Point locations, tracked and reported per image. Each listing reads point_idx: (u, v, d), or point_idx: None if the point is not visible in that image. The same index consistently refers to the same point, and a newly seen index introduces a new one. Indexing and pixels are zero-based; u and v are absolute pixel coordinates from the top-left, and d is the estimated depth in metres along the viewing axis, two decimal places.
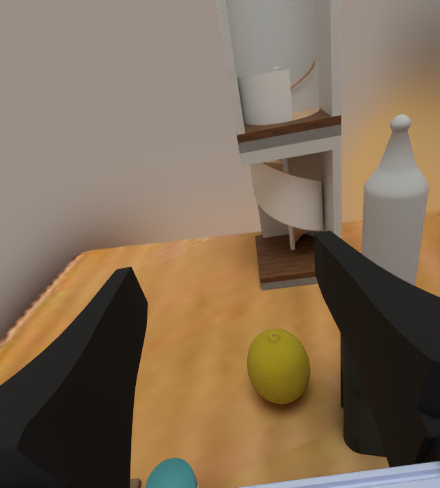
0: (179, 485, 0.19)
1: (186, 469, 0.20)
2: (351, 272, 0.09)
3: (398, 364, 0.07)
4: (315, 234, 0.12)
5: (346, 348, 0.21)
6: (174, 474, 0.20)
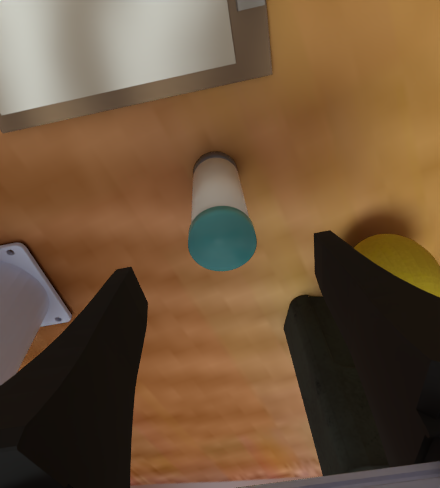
0: (223, 255, 0.15)
1: (242, 258, 0.15)
2: (351, 272, 0.09)
3: (398, 364, 0.07)
4: (315, 234, 0.12)
5: (351, 440, 0.18)
6: (235, 246, 0.14)
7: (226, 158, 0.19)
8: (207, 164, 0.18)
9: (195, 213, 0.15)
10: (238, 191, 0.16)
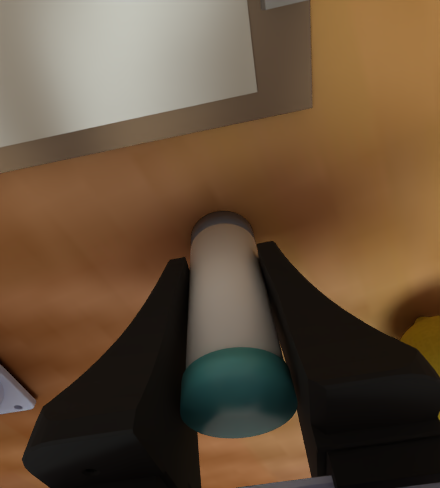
0: (240, 421, 0.09)
1: (271, 424, 0.09)
2: (277, 285, 0.09)
3: (300, 379, 0.07)
4: (257, 245, 0.12)
5: None
6: (260, 411, 0.08)
7: (238, 223, 0.13)
8: (211, 236, 0.13)
9: (193, 345, 0.09)
10: (261, 294, 0.10)
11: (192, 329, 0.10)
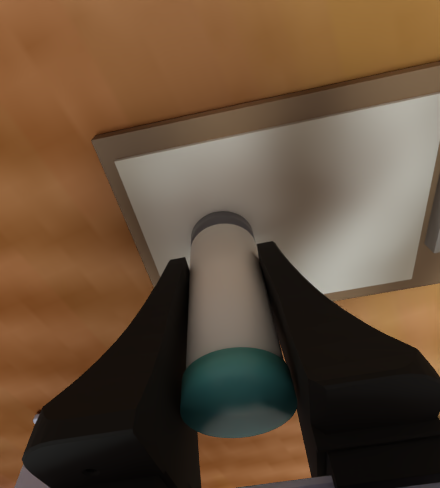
0: (241, 421, 0.09)
1: (272, 423, 0.09)
2: (277, 285, 0.09)
3: (300, 379, 0.07)
4: (257, 245, 0.12)
5: None
6: (261, 411, 0.08)
7: (237, 223, 0.13)
8: (210, 237, 0.13)
9: (191, 346, 0.09)
10: (259, 293, 0.10)
11: (191, 330, 0.10)
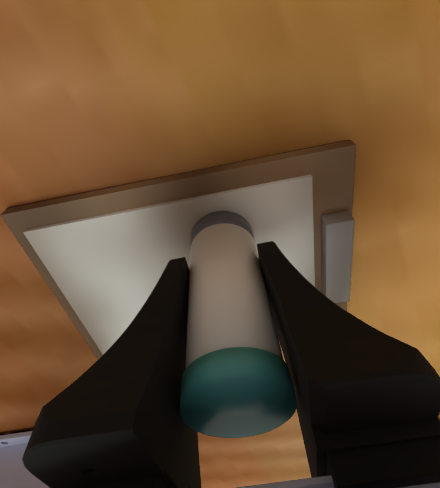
0: (241, 421, 0.09)
1: (272, 423, 0.09)
2: (277, 285, 0.09)
3: (300, 379, 0.07)
4: (257, 245, 0.12)
5: None
6: (260, 411, 0.08)
7: (237, 222, 0.13)
8: (209, 236, 0.13)
9: (191, 346, 0.09)
10: (259, 292, 0.10)
11: (191, 330, 0.10)
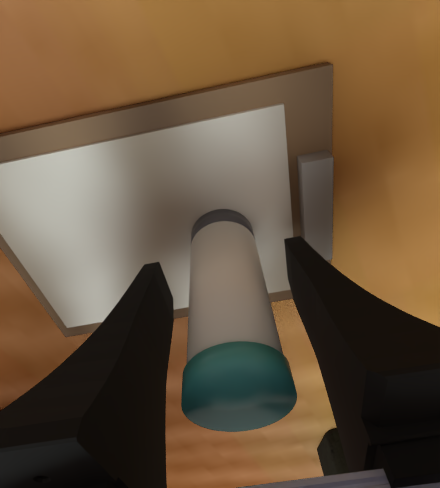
0: (242, 414, 0.09)
1: (272, 416, 0.09)
2: (312, 279, 0.09)
3: (347, 372, 0.07)
4: (285, 240, 0.12)
5: None
6: (260, 404, 0.09)
7: (237, 220, 0.13)
8: (210, 234, 0.13)
9: (192, 341, 0.09)
10: (259, 289, 0.10)
11: (192, 326, 0.10)
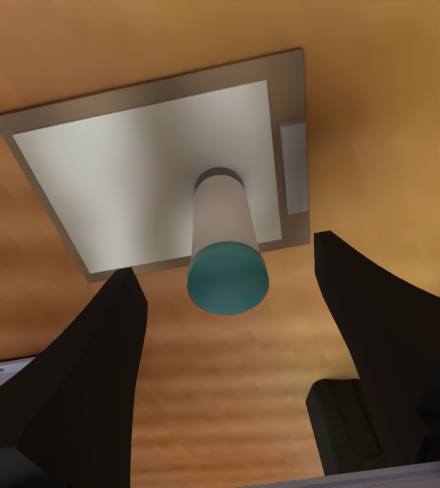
0: (230, 298, 0.12)
1: (252, 301, 0.12)
2: (351, 272, 0.09)
3: (398, 364, 0.07)
4: (315, 234, 0.12)
5: None
6: (243, 288, 0.12)
7: (230, 175, 0.17)
8: (209, 183, 0.16)
9: (195, 248, 0.13)
10: (245, 217, 0.14)
11: (195, 240, 0.13)
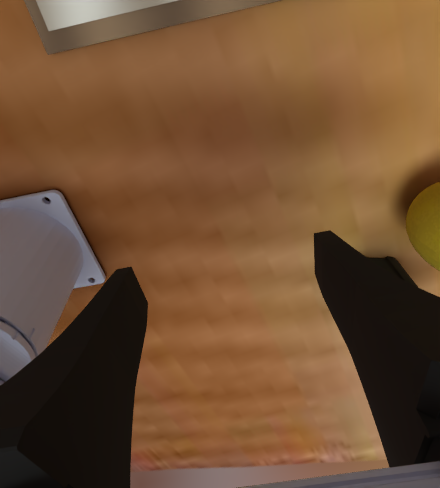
0: None
1: None
2: (351, 272, 0.09)
3: (398, 364, 0.07)
4: (315, 234, 0.12)
5: None
6: None
7: None
8: None
9: None
10: None
11: None
